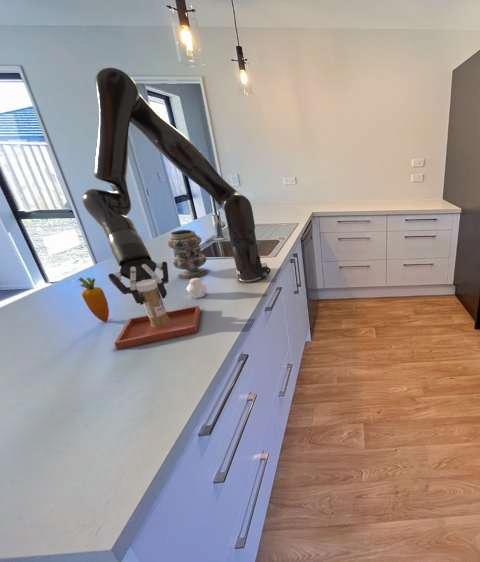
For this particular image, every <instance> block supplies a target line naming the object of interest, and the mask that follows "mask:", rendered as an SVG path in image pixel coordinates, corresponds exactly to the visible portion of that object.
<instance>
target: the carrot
mask: <svg viewBox="0 0 480 562" xmlns="http://www.w3.org/2000/svg"><path fill="white" fill-rule="evenodd" d="M77 280H78V281H80V282H81V283H82V284H80V285H79V286H80V287H81V288H82V287H83V288H85V289H83V290H81V293H80V294H81V297H82V298H83V300H84V302H85V304H86V306H87V307H88V309H89V311H90V312H91V313H92V315H93V316H95V318H97V319H98V320H100V321H101V322H103V323H106V322H107V321H108V320H109V315H110V309H109V303H108V300H107V298H106V294H105V293H104V290H103V289H102V288H101V287H100V286H95V282H96V278H95V277H92V278H90V277H86V279H84V278H83V277H78V279H77Z"/></svg>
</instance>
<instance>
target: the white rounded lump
mask: <svg viewBox="0 0 480 562" xmlns="http://www.w3.org/2000/svg"><path fill="white" fill-rule="evenodd" d="M207 286H208V285H207V284H206V282H204V281H202V280H201V279H200V278H199V277H193V278H190V280H189V282H188V285H187V287H186V291H187V293H188V294H190V295H191V297H193V298H194V299H200V298H203V297H204V296H205V295H206V291H207Z"/></svg>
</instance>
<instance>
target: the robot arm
mask: <svg viewBox="0 0 480 562" xmlns="http://www.w3.org/2000/svg"><path fill="white" fill-rule="evenodd" d="M94 85H95V88H96V92H97V100H98V112H99V113H98V115H99V116H98V118H99V119H98V130H97V131H98V132H97V140H96V148H95V155H94V168H93V175H94V177H95V179H96V180H98V181H101V182H103V183H106V184H108V185H109V186H110V187H111V190H112V191H111V190H110V191H109V190H104V189H99V188H89V189H86V191H85V192H83V195H82V204H83V207H84V208H85V210H86V212H87V213H88V214H89V216H91V217H92V218H93V220H94V221H96V223H97V224H98V225H99V226H100V227H101V228H102V229H103V232H104V234H105V236H106V238H107V240H108V244H109V247H110V250H111V253H112V255H113V256H114V258H115V261H116V262H117V265H118V268H119V269H118V272H115V273H109V274H108V278H109V281H110V282H111V283H112V284H113V285H114V286H115V288H117V290H119V292H120V293H122V295H127V294H130V295H132V297H133V299H134V301H135V303H136V304H137V305H138V304H140V306H142V305H144V303H143V300H142V298H141V295H140V293H139V291H138V290H137V287H136V284H137V283H138V282H141V281H144V280H149V279H153V280H156V282H157V285H158V291H159V293H160V296H161V298H162V299H165V298H166V296H167V295H168V293H167V292H168V291H167V288H166V287H165V284H168V283H169V282H170V281H169V267H168V262H167V261H162V262H157V263H156V261H154V260H153V259H152V257H151V255H150V253H149V251H148V249H147V246H146V245H145V243H144V241H143V239H142V237H141V236H140V234H139V233H138V231H137V228H136V226H135V224H134V222H133V220H132V219H131V218H130V217H128V215H129V213H130V212H131V209H132V202H131V197H130V193H129V188H128V182H127V174H128V164H129V133H130V132H129V131H130V130H129V129H130V124H132V125H133V126H134V127H135V128H137V129H138V130H139V131H140V132H141V133H142V134H143V135H144V136H145V138H147V139H148V140H149V142H150V143H151V144H152V146H154V147H155V148H156V150H158V151H159V152H160V153H161V154H162V155H163V156H164V157H165V158H166V159H167V161H169V162H170V163H171V164H172V165H173V166H174V167H175V168H176V169H177V170H178V171H179V172H181V173H182V174H183V175H184V176H186V177H187V178H188V180H190V181H192V182H193V183H194V184H196V185H197V186H198V187H200V188H201V189H202V190H204V191H205V192H206V193H207V194H208V195H210V197H211V198H212V199H213V200H214V201H215V202H216V203H217V205H218V206H219V207H220V208H221V210H222V211H223V212H224V216H225V220H226V224H227V232H228V233H227V234H228V237H229V241H230V242H229V243H230V247H231V250H232V255H233V260H234V263H235V272H236V274H237V278H238V281H239V282H240V283H241V282H242V283H253V282H257V281H259V280H261V279H262V280H263V279H264V278H265V276H264V274H265V275H267V276H268V275H269V274H270V273H271V267H269V266H268V264H267V262H262V259H261V255H260V252H259V246H258V240H257V235H256V224H255V218H254V211H253V207H252V204H251V201H250V200H249V199H248V198H247V196H245V195H243V194H242V193H240V192H239V191H238V190H236V189H235V188H234V187H233V186H232V185H231V184H229V183H228V182H227V181H226V180H225V179H224V178H223V177H222V176H221V174H220V173H219V172H218V171H217V169H215V167H214V166H213V164H212V163H211V162H210V160H209V159H208V158H207V156H205V154H204V153H203V152H202V151H201V150H200V149H199V148H198V147H197V146H196V145H195V144H194V143H193V142H192V141H191V140H190V139H189V138H188V137H187V136H185V135H184V134H183V133H182V132H181V131H179V130H178V129H176V128H175V127H174V126H173V125H171V124H170V123H169V122H168V121H166V120H164V118H162V116H160V115H159V114H158V113H157V112H156V111H155V110H154V109H153V108H152V107H151V105H150V104H149V103H148V102H147V101H146V100H145V98H143V96H142V95H141V94H140V91H139V88H138V85H137V84H136V82H135V80H134V79H133V78H132V77H131V76H130V75H129V74H127V73H126V72H125V71H123V70H121V69H119V68H117V67H112V66H111V67H105V68H102V69H100V70H99V71H98V72H97V73H96V75H95V78H94ZM157 269H158V270H159V271H160V272H162V278H160V277H159V276H158V274H156V273H155V272H156V270H157ZM122 277H124V278H126V279H127V280H130V281H129V282H130V283H129V285H130V286H126V285H125V284H124V283H123V282H122Z"/></svg>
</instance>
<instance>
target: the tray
mask: <svg viewBox="0 0 480 562" xmlns="http://www.w3.org/2000/svg"><path fill="white" fill-rule="evenodd" d="M166 313H167V316H168V319H169V320H170V321H169V323H168V324H166V325H164V326H162V327H157V328H156V327H152V326H151V321H150V319H149V317H148V315H142V316H136V317H131V318H128V320H127V321H126V322H125V325H124V326H123V328H122V330H121V331H120V333H119V335H118V336H117V338H116V339H115V341H114V346H115V348H116V350H121V349H126V348H130V347H135V346H139V345H144V344H150V343H154V342H159V341H163V340H167V339H171V338H176V337H181V336H182V337H183V336H185V335H191V334H195V333H197V331H198V327H199V326H198V325H199V322H200V315H201V308H200V305H195V306H189V307H184V308H179V309H178V308H177V309H174V310H173V309H172V310H168V311H167V310H166Z"/></svg>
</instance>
